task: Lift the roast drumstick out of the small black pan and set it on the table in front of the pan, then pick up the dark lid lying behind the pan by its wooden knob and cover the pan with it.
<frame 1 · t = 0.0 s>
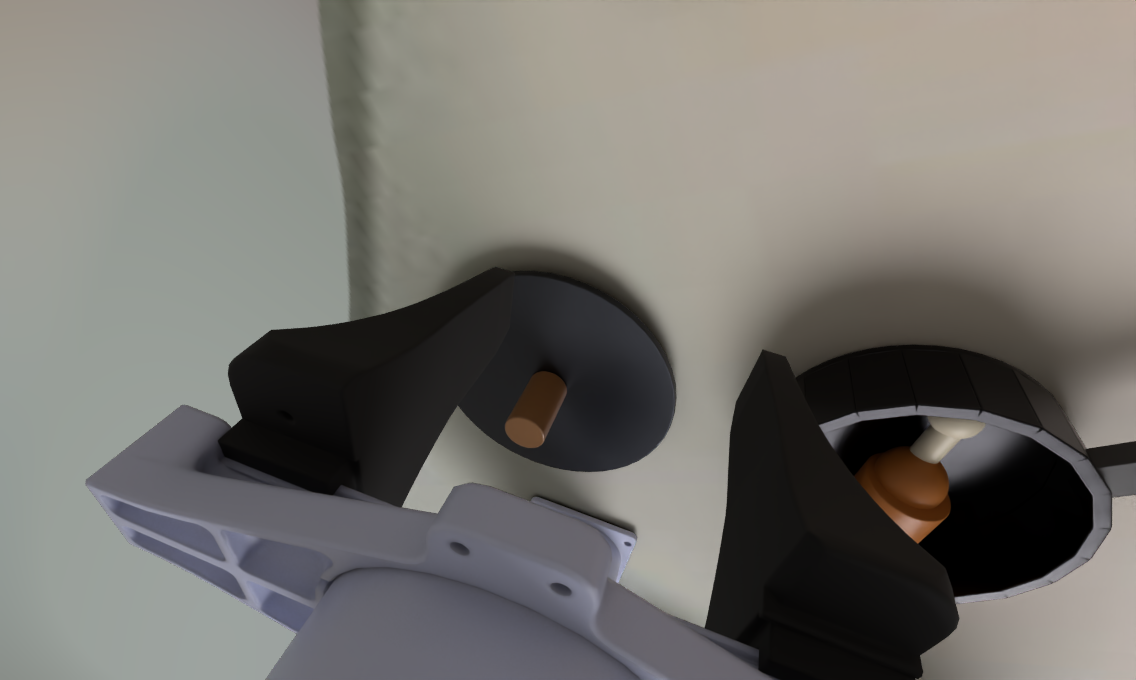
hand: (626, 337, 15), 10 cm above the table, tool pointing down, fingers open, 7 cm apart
drumstick: (904, 450, 26), resting on pan
pan lid: (551, 380, 30), point 1 cm above the table
pan: (897, 451, 27), on the table
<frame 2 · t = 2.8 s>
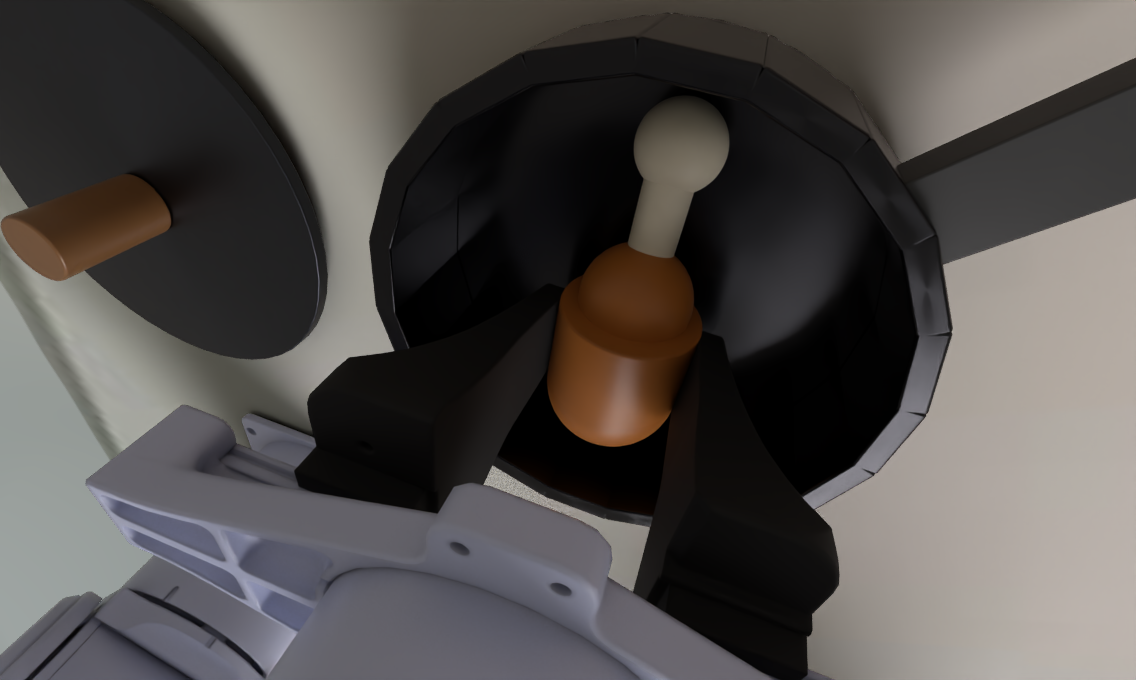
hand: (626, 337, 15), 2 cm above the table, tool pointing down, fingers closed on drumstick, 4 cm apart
drumstick: (649, 266, 15), resting on pan, touching gripper
pan lid: (157, 198, 20), point 1 cm above the table
pan: (648, 274, 16), on the table
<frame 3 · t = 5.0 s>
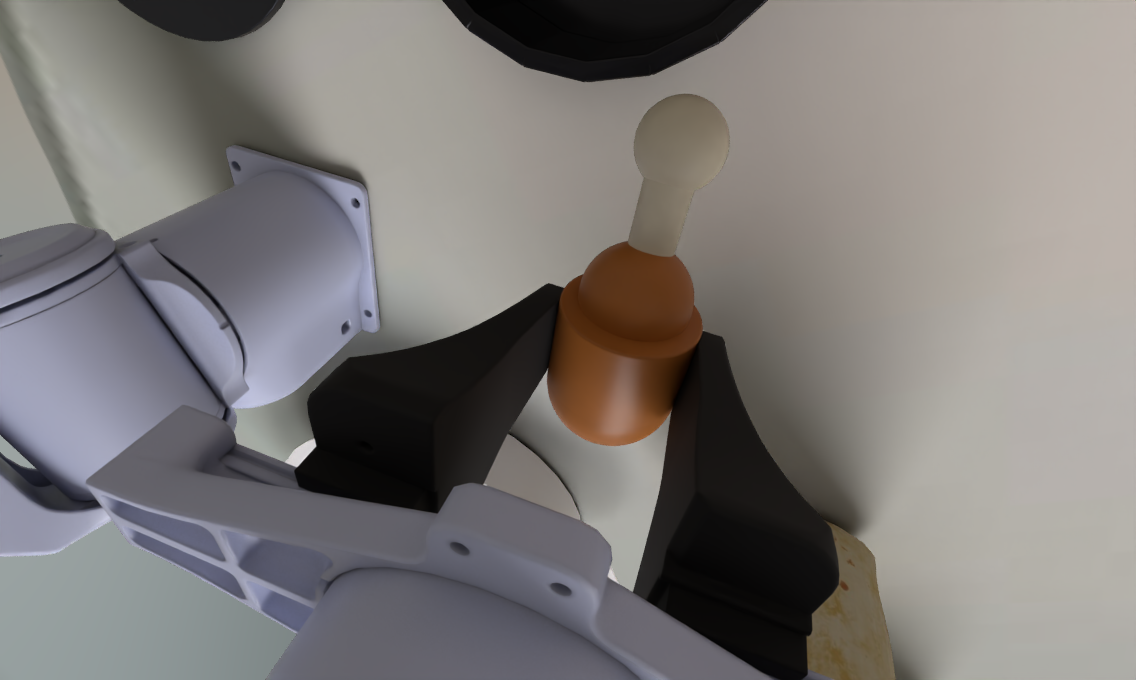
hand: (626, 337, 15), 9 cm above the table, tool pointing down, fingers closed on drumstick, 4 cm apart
food model: (779, 521, 32), on the table
pot: (455, 493, 41), on the table
drumstick: (649, 265, 15), point 8 cm above the table, touching gripper
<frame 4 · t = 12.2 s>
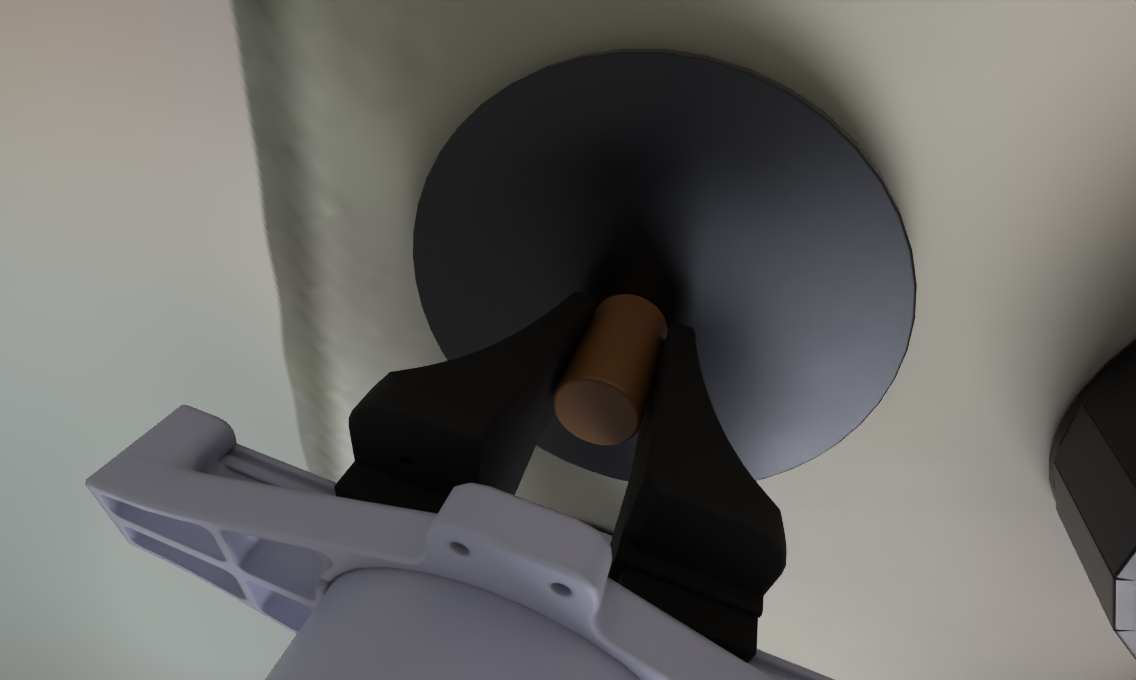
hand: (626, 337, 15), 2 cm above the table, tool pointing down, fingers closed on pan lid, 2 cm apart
pan lid: (633, 315, 16), point 1 cm above the table, touching gripper
when the fingers open (5 cm above the table, at t = 16.5 s): pan lid stays where it is, resting on pan.
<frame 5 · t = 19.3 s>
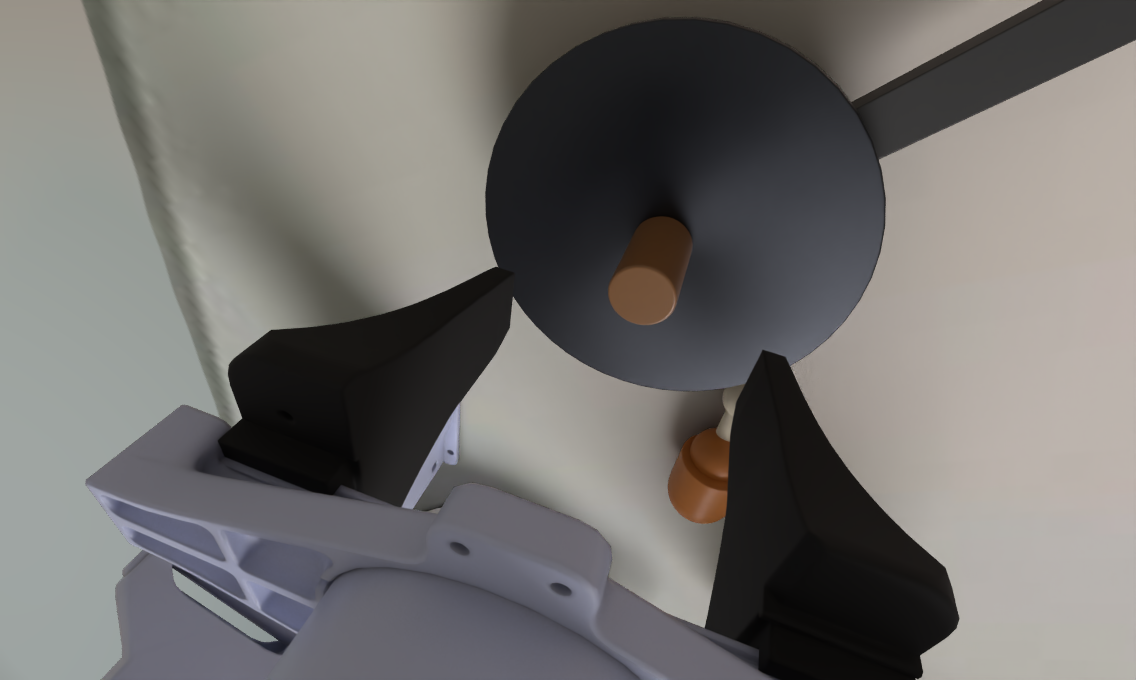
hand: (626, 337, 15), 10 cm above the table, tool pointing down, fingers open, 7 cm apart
drumstick: (721, 432, 30), on the table
pan lid: (664, 237, 20), point 4 cm above the table, touching pan
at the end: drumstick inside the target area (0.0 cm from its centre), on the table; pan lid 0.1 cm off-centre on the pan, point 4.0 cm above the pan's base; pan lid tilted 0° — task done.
